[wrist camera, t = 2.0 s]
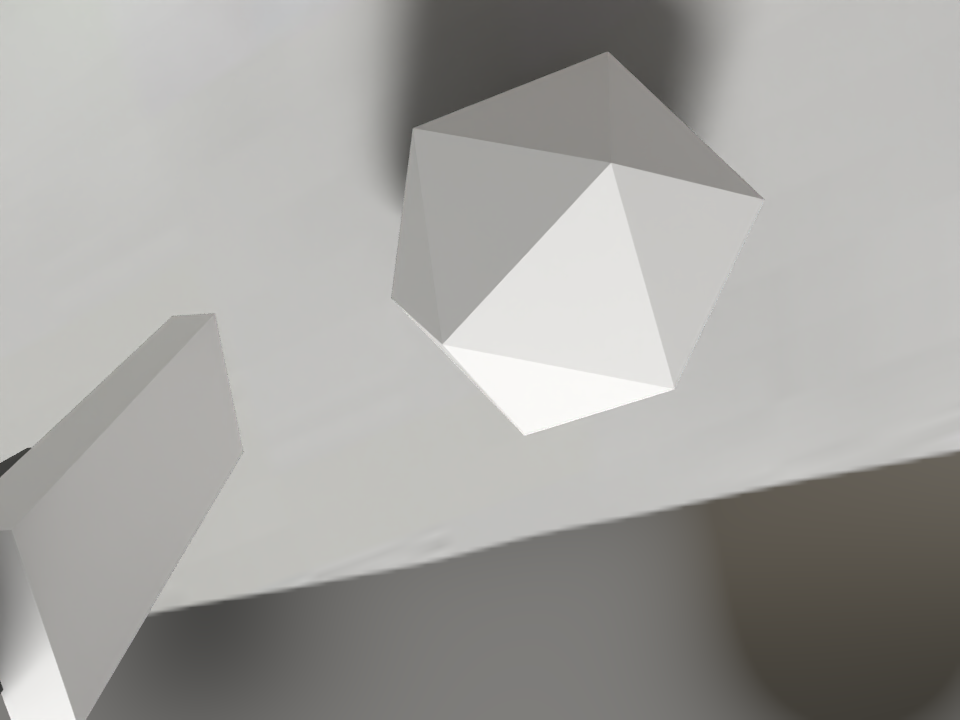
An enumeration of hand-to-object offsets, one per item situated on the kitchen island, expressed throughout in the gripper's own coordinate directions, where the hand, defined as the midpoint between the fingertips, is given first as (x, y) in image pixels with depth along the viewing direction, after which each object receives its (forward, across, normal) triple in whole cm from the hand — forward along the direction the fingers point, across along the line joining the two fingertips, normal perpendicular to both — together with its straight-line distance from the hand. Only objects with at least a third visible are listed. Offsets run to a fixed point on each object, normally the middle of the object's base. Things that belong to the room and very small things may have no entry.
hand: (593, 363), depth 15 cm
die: (+11, 0, 0) cm, 11 cm away
